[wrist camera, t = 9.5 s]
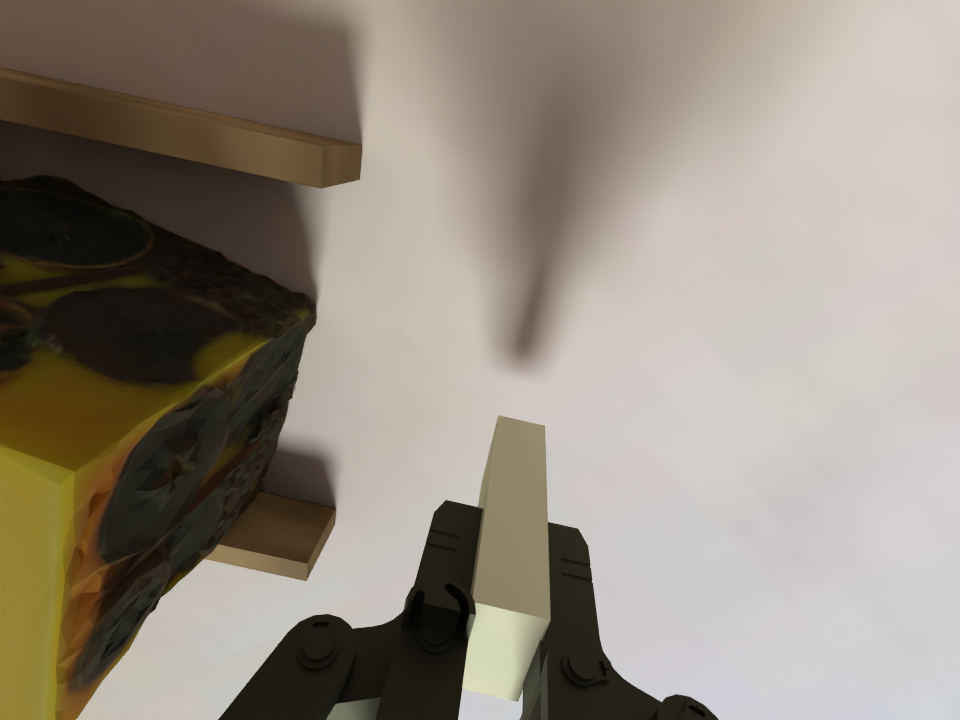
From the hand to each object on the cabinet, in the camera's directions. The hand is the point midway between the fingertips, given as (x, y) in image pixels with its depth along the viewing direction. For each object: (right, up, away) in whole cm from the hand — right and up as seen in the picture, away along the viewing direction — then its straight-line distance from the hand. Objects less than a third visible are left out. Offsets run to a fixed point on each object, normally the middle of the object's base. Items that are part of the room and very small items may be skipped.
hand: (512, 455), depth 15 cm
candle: (-13, +3, +3) cm, 14 cm away
